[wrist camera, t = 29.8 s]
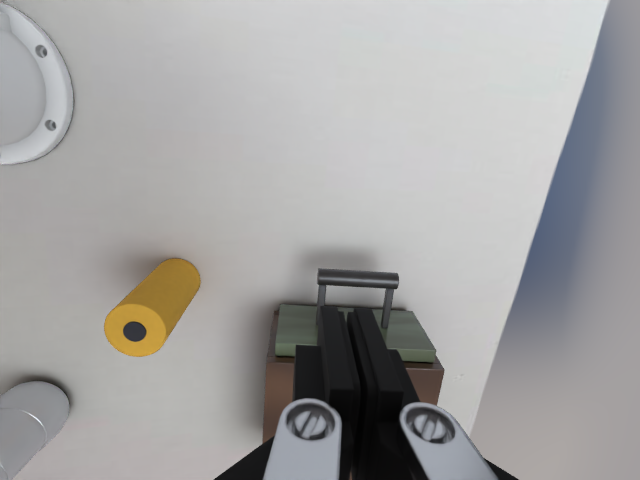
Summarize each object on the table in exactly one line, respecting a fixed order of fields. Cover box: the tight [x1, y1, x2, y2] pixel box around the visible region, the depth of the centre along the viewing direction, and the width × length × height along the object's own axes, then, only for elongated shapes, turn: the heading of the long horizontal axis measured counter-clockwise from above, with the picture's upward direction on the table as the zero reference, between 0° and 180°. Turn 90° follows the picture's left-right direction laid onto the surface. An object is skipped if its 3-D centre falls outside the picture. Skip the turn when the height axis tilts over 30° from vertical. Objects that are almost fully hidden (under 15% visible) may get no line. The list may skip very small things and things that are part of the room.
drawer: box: [275, 268, 436, 363], centre depth 34 cm, size 20×13×7 cm
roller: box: [104, 259, 200, 357], centre depth 31 cm, size 4×4×10 cm
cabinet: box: [263, 311, 444, 480], centre depth 36 cm, size 16×15×9 cm
